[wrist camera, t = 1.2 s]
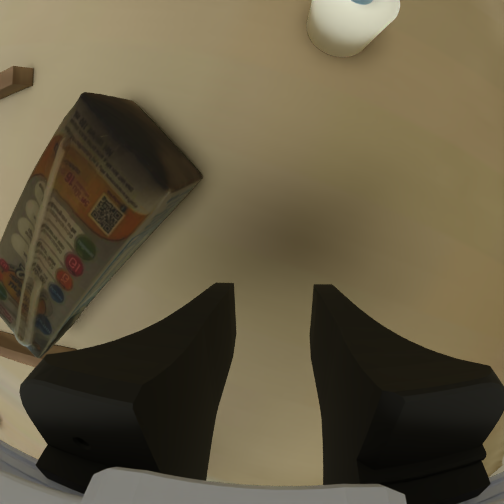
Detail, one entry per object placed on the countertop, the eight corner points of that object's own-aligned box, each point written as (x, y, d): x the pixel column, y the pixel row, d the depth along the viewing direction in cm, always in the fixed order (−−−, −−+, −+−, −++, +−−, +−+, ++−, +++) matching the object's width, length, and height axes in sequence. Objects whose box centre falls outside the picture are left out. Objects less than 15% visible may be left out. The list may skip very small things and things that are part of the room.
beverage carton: (18, 265, 24) (-27, 296, 18) (132, 92, 18) (77, 81, 12) (73, 326, 26) (35, 368, 19) (211, 172, 20) (181, 189, 14)
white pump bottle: (370, 60, 16) (421, 22, 9) (307, 55, 16) (324, 7, 9) (366, 7, 15) (407, -49, 7) (304, 1, 15) (316, -64, 8)
